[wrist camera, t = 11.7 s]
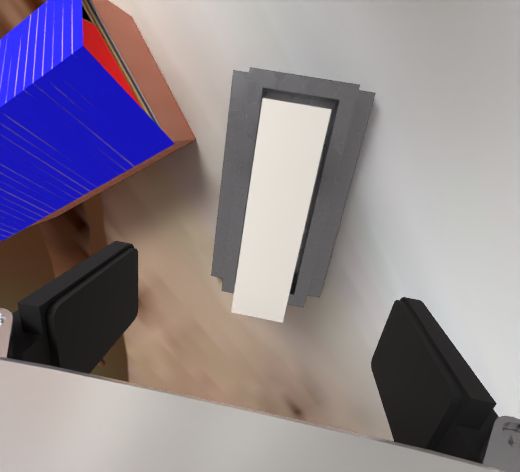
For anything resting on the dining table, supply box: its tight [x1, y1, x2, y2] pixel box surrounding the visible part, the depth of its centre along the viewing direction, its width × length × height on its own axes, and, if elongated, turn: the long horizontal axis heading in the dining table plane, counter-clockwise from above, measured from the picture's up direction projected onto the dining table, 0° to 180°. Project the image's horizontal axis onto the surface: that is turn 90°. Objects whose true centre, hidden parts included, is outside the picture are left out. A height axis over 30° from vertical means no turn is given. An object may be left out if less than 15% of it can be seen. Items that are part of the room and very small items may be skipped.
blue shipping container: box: [0, 0, 196, 241], centre depth 24 cm, size 12×20×12 cm, turn 116°
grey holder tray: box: [211, 67, 375, 307], centre depth 27 cm, size 20×12×4 cm, turn 171°
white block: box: [231, 98, 332, 323], centre depth 23 cm, size 15×4×9 cm, turn 171°
